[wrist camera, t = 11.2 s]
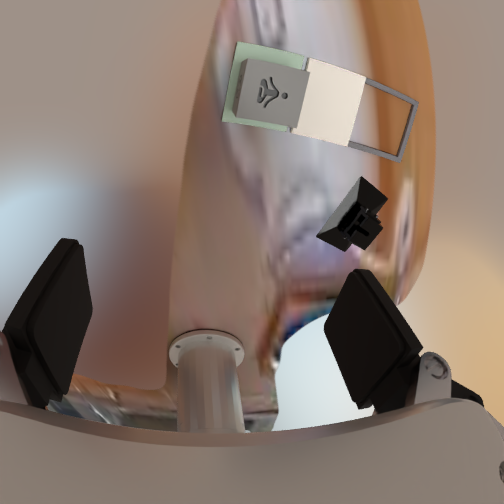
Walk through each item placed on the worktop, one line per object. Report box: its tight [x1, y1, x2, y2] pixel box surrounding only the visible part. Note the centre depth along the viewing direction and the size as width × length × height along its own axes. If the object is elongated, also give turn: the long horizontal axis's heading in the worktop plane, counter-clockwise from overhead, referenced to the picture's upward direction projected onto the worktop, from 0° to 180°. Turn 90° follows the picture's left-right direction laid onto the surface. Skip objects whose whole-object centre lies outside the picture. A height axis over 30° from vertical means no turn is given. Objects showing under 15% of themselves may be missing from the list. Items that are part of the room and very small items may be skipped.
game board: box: [222, 42, 419, 163], centre depth 25 cm, size 8×21×1 cm, turn 79°
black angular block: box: [316, 176, 388, 252], centre depth 33 cm, size 12×7×5 cm, turn 148°
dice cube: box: [232, 58, 310, 128], centre depth 22 cm, size 5×5×5 cm
